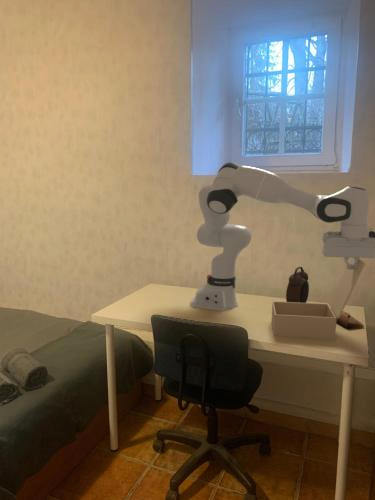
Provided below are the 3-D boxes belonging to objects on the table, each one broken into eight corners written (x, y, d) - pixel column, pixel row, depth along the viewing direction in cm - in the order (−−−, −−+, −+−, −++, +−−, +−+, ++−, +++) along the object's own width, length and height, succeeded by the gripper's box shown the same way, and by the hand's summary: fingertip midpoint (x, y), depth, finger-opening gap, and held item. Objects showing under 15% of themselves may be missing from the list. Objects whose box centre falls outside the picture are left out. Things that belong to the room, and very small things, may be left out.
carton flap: (363, 263, 133) (365, 263, 133) (351, 253, 149) (353, 254, 149) (337, 317, 138) (338, 318, 138) (328, 303, 154) (329, 303, 154)
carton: (273, 339, 144) (274, 314, 142) (271, 324, 159) (272, 301, 158) (334, 343, 140) (336, 318, 139) (326, 327, 156) (327, 303, 154)
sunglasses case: (366, 325, 153) (358, 314, 151) (353, 337, 153) (345, 325, 151) (340, 310, 171) (332, 300, 169) (328, 320, 170) (320, 310, 169)
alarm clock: (299, 315, 170) (301, 271, 166) (283, 311, 174) (286, 269, 170) (310, 306, 181) (312, 265, 178) (295, 303, 186) (297, 263, 182)
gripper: (324, 232, 136) (322, 270, 139) (386, 233, 133) (382, 272, 135) (321, 230, 142) (319, 266, 145) (380, 231, 139) (376, 268, 142)
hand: (350, 269), depth 140 cm, fingers closed
